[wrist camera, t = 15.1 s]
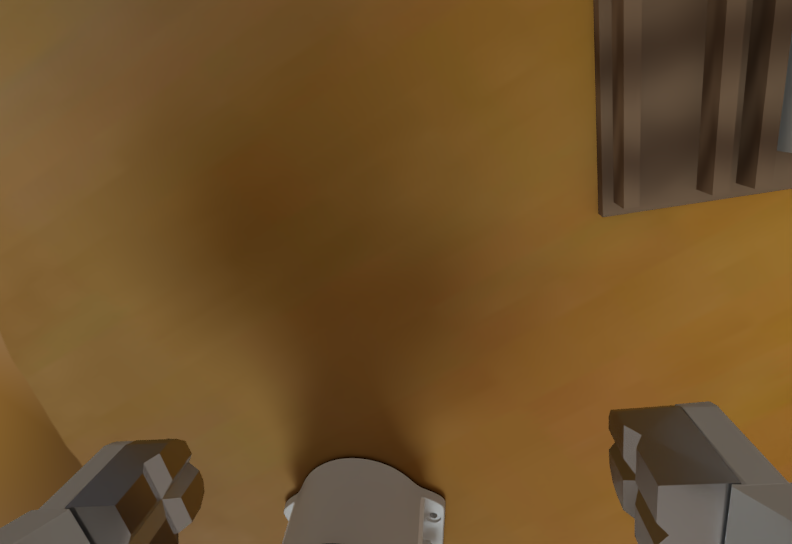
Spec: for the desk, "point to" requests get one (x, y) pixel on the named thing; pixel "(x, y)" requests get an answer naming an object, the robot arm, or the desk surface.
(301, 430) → the desk surface
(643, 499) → the robot arm
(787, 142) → the gray rectangular block
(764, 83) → the rack
